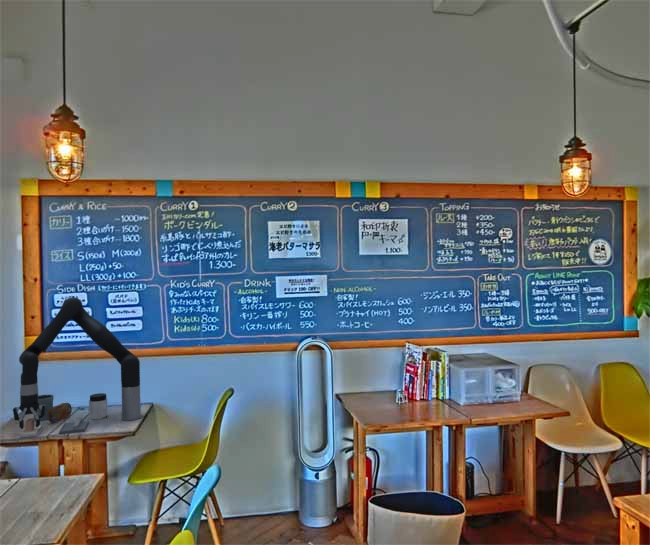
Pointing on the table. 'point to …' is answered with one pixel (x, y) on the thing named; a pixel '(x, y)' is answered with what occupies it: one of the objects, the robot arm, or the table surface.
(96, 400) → the jar
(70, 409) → the tin
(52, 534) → the table surface
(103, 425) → the table surface
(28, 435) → the white plate with block
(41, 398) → the blue pot
